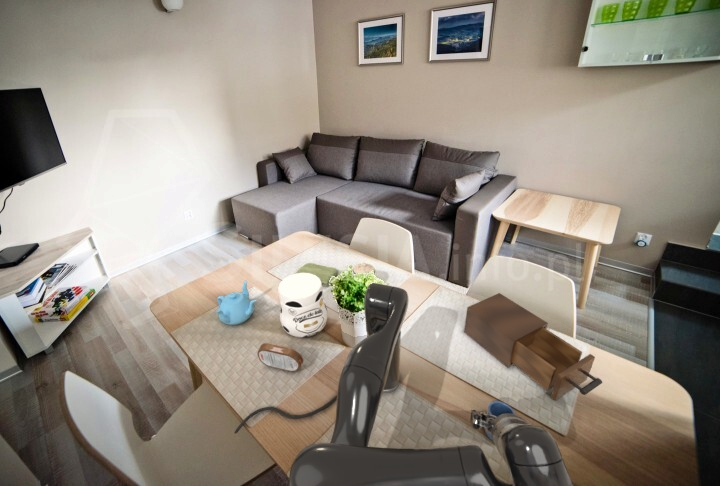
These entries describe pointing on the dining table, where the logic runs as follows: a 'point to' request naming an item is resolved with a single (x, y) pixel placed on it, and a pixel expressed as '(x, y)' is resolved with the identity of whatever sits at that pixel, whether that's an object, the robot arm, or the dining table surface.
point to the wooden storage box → (500, 326)
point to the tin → (280, 357)
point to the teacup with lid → (363, 268)
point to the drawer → (553, 363)
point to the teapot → (235, 307)
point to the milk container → (302, 305)
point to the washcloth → (319, 272)
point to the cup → (498, 411)
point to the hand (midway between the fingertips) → (504, 423)
